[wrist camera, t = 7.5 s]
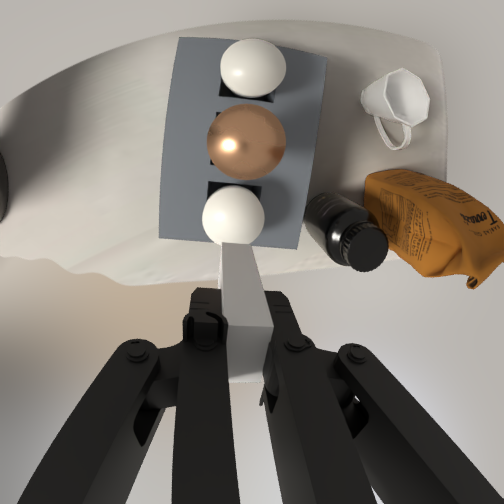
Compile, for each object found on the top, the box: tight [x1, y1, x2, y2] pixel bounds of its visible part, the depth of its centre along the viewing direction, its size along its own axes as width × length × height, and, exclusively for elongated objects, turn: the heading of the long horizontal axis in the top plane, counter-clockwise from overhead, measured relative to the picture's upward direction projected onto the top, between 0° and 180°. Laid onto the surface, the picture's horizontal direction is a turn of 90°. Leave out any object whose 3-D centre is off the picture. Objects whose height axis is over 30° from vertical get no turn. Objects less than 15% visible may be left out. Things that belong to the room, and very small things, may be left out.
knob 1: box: [220, 38, 286, 99], centre depth 22 cm, size 5×5×8 cm
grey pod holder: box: [159, 37, 327, 250], centre depth 27 cm, size 14×20×8 cm
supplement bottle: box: [304, 193, 389, 272], centre depth 30 cm, size 7×7×12 cm
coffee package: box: [364, 169, 504, 289], centre depth 25 cm, size 10×12×22 cm
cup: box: [360, 68, 430, 150], centre depth 26 cm, size 7×10×8 cm
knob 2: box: [202, 183, 265, 246], centre depth 27 cm, size 5×5×8 cm
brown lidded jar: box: [207, 104, 286, 180], centre depth 21 cm, size 5×5×8 cm
